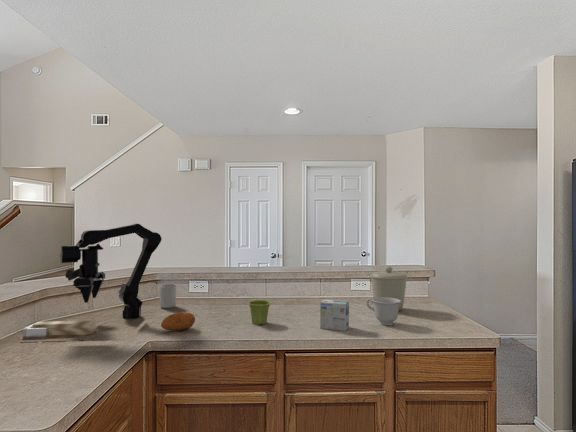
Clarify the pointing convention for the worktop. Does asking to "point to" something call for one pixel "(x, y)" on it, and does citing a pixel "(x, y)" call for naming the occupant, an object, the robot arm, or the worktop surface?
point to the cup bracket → (34, 332)
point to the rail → (67, 327)
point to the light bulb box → (334, 314)
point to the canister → (389, 284)
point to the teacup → (385, 309)
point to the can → (168, 295)
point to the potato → (178, 321)
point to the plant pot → (259, 311)
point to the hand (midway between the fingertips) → (90, 300)
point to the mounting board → (60, 336)
